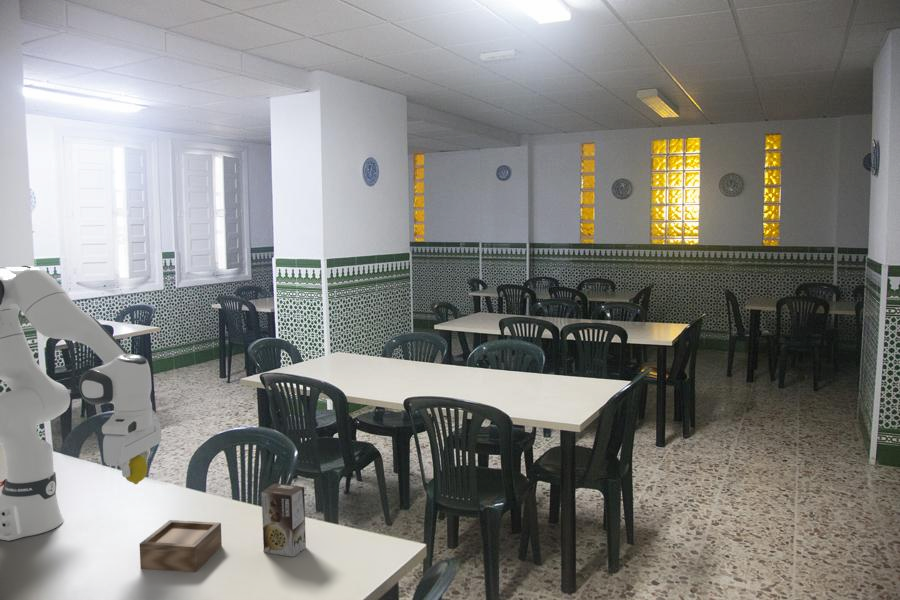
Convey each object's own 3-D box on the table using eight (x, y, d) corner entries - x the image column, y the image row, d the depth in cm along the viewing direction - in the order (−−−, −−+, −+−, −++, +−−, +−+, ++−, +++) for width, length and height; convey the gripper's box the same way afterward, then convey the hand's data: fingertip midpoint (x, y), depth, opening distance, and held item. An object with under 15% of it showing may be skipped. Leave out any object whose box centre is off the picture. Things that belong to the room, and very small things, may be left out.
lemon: (138, 488, 175) (137, 458, 174) (119, 487, 176) (118, 456, 175) (152, 481, 180) (151, 451, 179) (133, 479, 181) (132, 449, 180)
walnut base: (140, 568, 168) (139, 543, 167) (170, 542, 181) (169, 520, 181) (195, 571, 166) (194, 547, 165) (221, 545, 180) (220, 522, 179)
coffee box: (306, 546, 179) (305, 486, 178) (293, 557, 173) (292, 495, 172) (276, 541, 182) (275, 482, 181) (262, 552, 176) (260, 490, 175)
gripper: (144, 407, 187) (146, 457, 188) (97, 429, 167) (99, 484, 168) (166, 408, 186) (168, 458, 187) (121, 430, 166) (123, 486, 167)
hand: (135, 471), depth 178 cm, fingers closed on lemon, 6 cm apart
